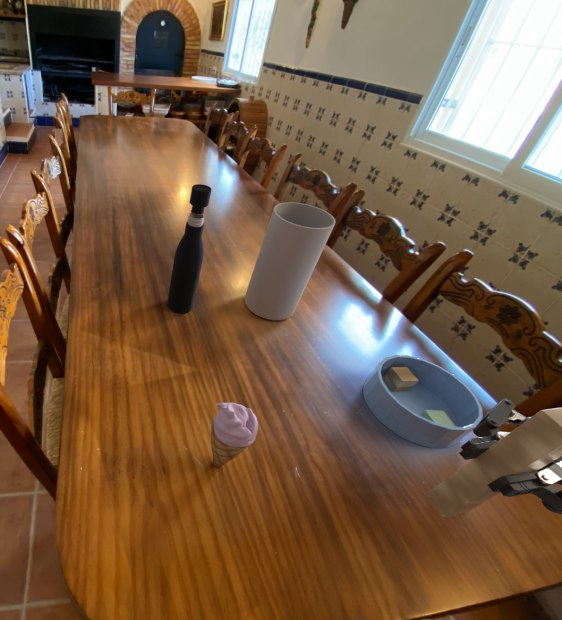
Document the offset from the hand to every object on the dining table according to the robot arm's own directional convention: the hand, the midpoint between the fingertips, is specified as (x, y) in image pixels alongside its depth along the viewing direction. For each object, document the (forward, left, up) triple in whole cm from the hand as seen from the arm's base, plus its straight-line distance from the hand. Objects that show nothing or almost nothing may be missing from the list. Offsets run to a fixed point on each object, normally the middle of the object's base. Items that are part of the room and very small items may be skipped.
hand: (481, 467), depth 37 cm
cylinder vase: (+53, +1, -23) cm, 58 cm away
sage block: (+19, -20, -22) cm, 35 cm away
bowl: (+24, -19, -22) cm, 38 cm away
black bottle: (+51, +24, -23) cm, 61 cm away
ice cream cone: (+11, +21, -23) cm, 33 cm away
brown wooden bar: (+1, -3, -10) cm, 11 cm away
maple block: (+29, -19, -22) cm, 41 cm away
